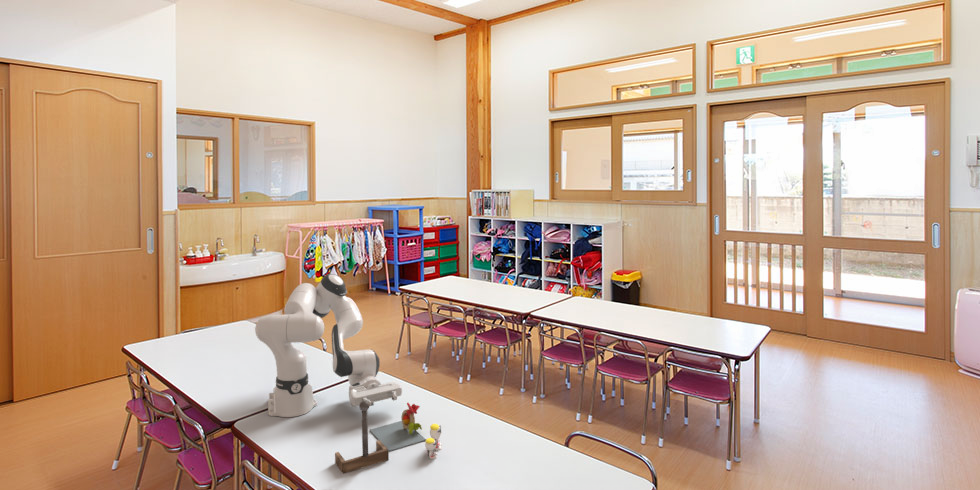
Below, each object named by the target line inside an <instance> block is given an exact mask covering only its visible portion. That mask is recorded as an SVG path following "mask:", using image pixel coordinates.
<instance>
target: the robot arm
mask: <svg viewBox="0 0 980 490" xmlns="http://www.w3.org/2000/svg"><path fill="white" fill-rule="evenodd" d="M347 294H348V289H347V287H346V283H345V281H344V279H343V278H342V277H341V276H339V275H337V274H335V273H327V274H326V275H325V276H323V277H322V278H321V280H320V282H319V283H318V284H317V285H316V287H315V286H314V285H313V284H312V283H308V282H304V283H300V284H298V285H297V286H296V287H295V288H294V289H293V291H292V292H291V294H290V296H289V297H288V299H287V302H286V303H285V306H284V310H283V311H284V314H270V315H266V316H265V315H263V316H261V317H260V318H259V319H258V320H257V322H256V324H255V327H254V332H255V336H256V338H257V339H258V341H260V342H262V343H263V344H265V345H266V346H267V347H268V348H269V350H270V351H271V352H272V354H273V356H274V360H275V365H276V378H275V386H274V388H273V390H272V391H273V392H269V393H268V396H269V397H268V399H267V411H268V416H270V417H271V416H272V417H274V416H276V417H281V418H294V417H298V416H302V415H304V414H307V413H308V412H310V411H311V410H313V408H314V407H316V406H318V401H317V400H316V399H314V392H313V386H312V385H311V384H309V374H308V372H307V371H308V370H307V369H308V368H307V356H306V355H305V353H304V351H302V350H300V349H298V348H296V347H295V346H293V344H292V343H295V344H298V343H309V342H314V341H315V342H316V341H318V340H320V339H321V338H322V336H323V335H324V332H325V324H324V320H323V318H325V317H326V316H327V315H328V314H329V313H330V312H331V311H332V313H333V314H334V319H335V322H336V323H335V324H334V325H333V327H332V330H331V348H332V370H333V372H334V373H335V375H337V376H338V377H340V378H344V377H347V378H348V382H349V388H348V398H349V402H350V405H351V406H352V407H359V405H360V403H361V402H362V401H367V402H369V405H370V406H369V407H372V406H374V403H376V402H380V401H383V400H388V399H389V400H390V399H391V401H392V402H393V401H397V400H398V397H401V396H402V393H403V387H402V386H401V385H400V384H398V383H396V382H393V381H392V382H387V383H381V382H380V380H378V379H377V378H376V377H377V375H378V374H379V371H380V363H381V362H380V357H379V355H378V354H377V353H376V351H375V350H373V349H372V348H371V349H360V350H359V349H358V350H357V349H356V350H346V349H345V348H344V347H345V345H344V340H347V339H349V338H352V337H354V336H356V335H357V334H358V333H359V332H361V330H362V328H363V325H364V320H363V316H362V313H361V311H360V309H359V307H358V305H357V304H356V302H355V301H354V300H353V299H352V298H351V297H349V296H346V295H347Z"/></svg>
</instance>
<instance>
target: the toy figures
mask: <svg viewBox="0 0 980 490" xmlns="http://www.w3.org/2000/svg"><path fill="white" fill-rule="evenodd" d="M429 429H430V430H429V435H430V437H428V438H425V439H426V441H424V442H425V444H424V446H425V449H426V450H427V456H428V458H429V459H431V460H436V459H437V458H438V452H437V451H441V450H442V443H441V442H439V439H440V437H441V434H442V427H441V425H439V424H437V423H432V424H431V425H430V426H429Z"/></svg>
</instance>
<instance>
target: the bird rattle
mask: <svg viewBox="0 0 980 490" xmlns="http://www.w3.org/2000/svg"><path fill="white" fill-rule="evenodd" d="M406 405H407V408H405V409H404V410H402V411H403V412H402V413H401V420H400V421H402V424H403V429H408V430H409V434H410V435H411V434H412V432H413V430H416V431H418V430H423V428H422V424H420V423H419V422H416V417H415V415H416V414H418V412H417V411H418V410H419V409H420V407H421V405H418V404H417V405H416V404H415V403H412V404H410V403H409V402H406Z"/></svg>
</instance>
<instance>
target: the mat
mask: <svg viewBox="0 0 980 490" xmlns="http://www.w3.org/2000/svg"><path fill="white" fill-rule="evenodd" d="M369 431H370V433H371V434H372V435H373V436H374V437H375V438H376V439H377V441H378V440H380V441H381V442H382V444H383V445H384V446H385V447H386V448H387V449H388V453H389V452H392V451H396V450H399V449H400V450H401V449H403V448H406V447H410V446H413V445H416V444H419V443H423V442H425V441H426V439H427V438H425V437H424V436H423V435H421V433H420V432H419V431H418V430H413V432H412V434H411V435H410V434H409V430H408V429H403V424H402V420H400V421H395V422H392V423H388V424H385V425H381V426H378V427H373V428H371V429H369Z"/></svg>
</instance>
